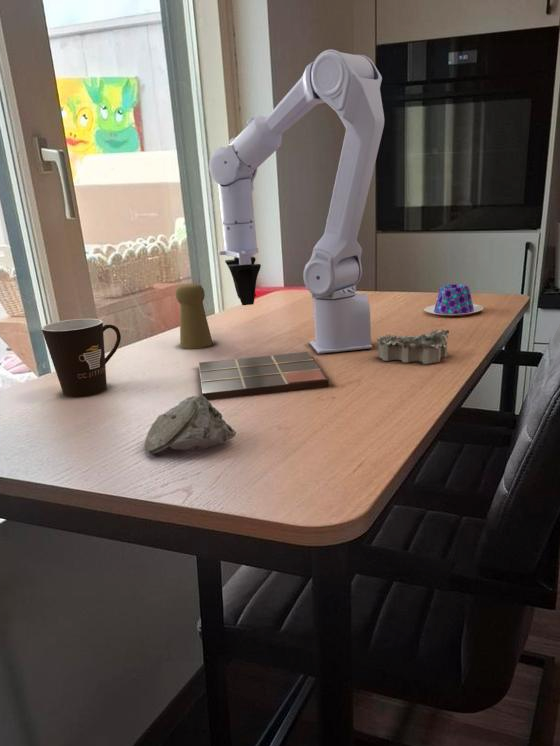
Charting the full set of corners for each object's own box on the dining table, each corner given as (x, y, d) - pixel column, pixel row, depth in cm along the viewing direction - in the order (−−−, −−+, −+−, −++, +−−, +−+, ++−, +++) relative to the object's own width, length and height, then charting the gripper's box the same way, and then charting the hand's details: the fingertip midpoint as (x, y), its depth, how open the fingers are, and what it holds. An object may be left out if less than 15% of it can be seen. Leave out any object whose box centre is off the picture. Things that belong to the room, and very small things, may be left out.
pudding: (440, 305, 152) (440, 280, 150) (492, 308, 145) (494, 282, 143) (413, 315, 143) (413, 289, 141) (468, 319, 137) (469, 292, 134)
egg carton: (452, 354, 113) (453, 329, 112) (434, 366, 107) (435, 340, 106) (392, 349, 118) (392, 325, 117) (372, 360, 113) (371, 334, 111)
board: (307, 357, 117) (307, 350, 116) (328, 386, 101) (328, 379, 100) (199, 368, 114) (198, 361, 114) (203, 400, 98) (202, 392, 98)
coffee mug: (60, 403, 101) (45, 333, 97) (51, 389, 108) (37, 324, 104) (140, 388, 106) (129, 321, 101) (126, 376, 113) (115, 313, 108)
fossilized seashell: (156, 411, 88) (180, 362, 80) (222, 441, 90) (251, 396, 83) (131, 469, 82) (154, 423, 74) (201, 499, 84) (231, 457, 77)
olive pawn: (206, 348, 127) (198, 286, 123) (175, 348, 128) (166, 287, 124) (217, 340, 133) (210, 281, 128) (187, 341, 134) (179, 282, 129)
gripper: (213, 222, 129) (221, 296, 135) (218, 227, 116) (226, 309, 122) (251, 219, 130) (258, 293, 136) (260, 224, 117) (266, 306, 123)
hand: (245, 301), depth 129 cm, fingers open, 7 cm apart
